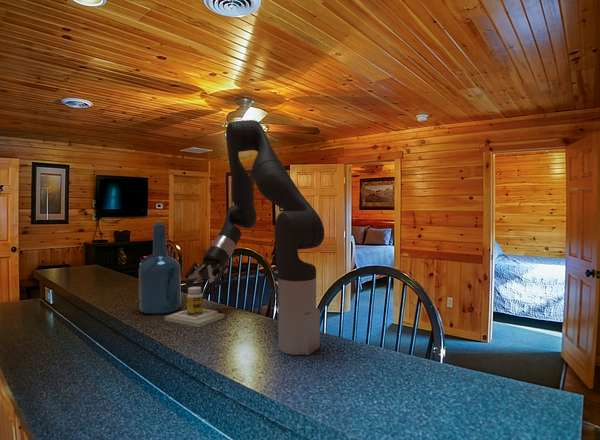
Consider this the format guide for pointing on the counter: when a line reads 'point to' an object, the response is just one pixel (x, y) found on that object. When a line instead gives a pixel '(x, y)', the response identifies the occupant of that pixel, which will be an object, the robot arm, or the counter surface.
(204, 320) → the grey-green flat tray
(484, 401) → the counter surface
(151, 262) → the wine bottle
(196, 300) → the supplement bottle
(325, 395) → the counter surface
